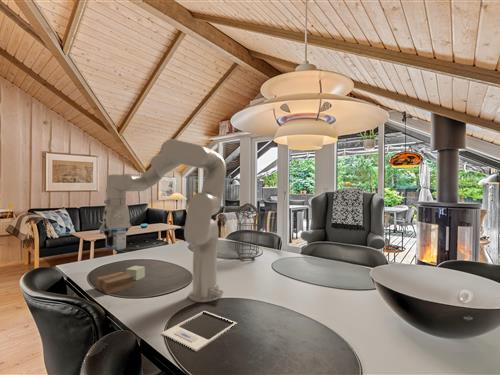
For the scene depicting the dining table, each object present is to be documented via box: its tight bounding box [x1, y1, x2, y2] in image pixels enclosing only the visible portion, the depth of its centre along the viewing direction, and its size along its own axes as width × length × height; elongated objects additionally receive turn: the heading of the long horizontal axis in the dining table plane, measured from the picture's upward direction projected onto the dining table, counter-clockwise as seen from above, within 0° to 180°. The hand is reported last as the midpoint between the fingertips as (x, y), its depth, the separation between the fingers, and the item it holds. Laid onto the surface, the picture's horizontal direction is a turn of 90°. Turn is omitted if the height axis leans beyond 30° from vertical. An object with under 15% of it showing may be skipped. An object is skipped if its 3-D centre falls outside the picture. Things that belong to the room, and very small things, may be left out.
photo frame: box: [161, 310, 238, 352], centre depth 84 cm, size 15×1×18 cm
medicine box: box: [105, 229, 127, 251], centre depth 118 cm, size 8×4×9 cm, turn 62°
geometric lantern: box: [233, 202, 264, 262], centre depth 169 cm, size 16×16×35 cm
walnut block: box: [95, 271, 135, 295], centre depth 118 cm, size 11×11×5 cm
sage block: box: [125, 265, 146, 281], centre depth 131 cm, size 6×6×5 cm
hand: (115, 244), depth 118 cm, fingers closed on medicine box, 4 cm apart
